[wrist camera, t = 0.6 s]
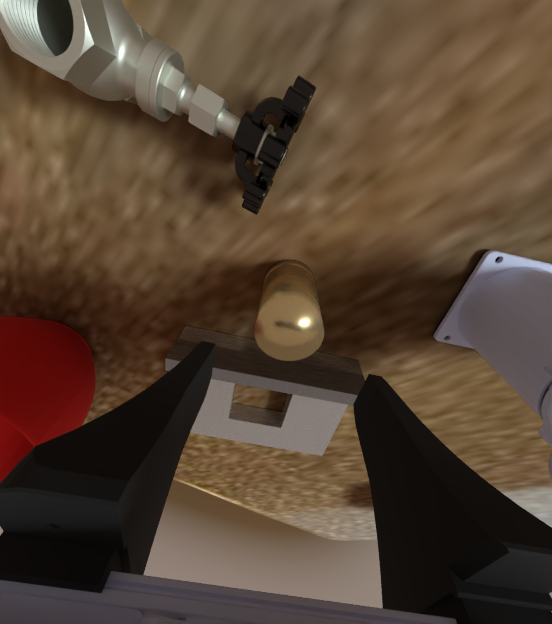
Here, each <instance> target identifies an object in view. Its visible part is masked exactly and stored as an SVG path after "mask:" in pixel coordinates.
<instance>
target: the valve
mask: <svg viewBox="0 0 552 624" xmlns="http://www.w3.org/2000/svg"><path fill="white" fill-rule="evenodd" d="M0 29H1V31H2V33H3V35H4V37H5V39H6V41H7V43H8V45H9V47H10V49H11V50H12V51H13V52H15V53H16V54H18V55H20V56H21V57H23V58H25V59H27V60H28V61H30V62H32V63H33V64H35V65H37V66H39V67H41V68H42V69H44V70H46V71H48V72H50V73H51V74H53V75H55V76H57V77H59V78H61V79H63V80H65V81H68V82H70V83H71V84H72V85H73V86H75V87H76V88H78V89H79V90H81V91H82V92H84V93H86V94H88V95H90V96H92V97H95V98H97V99H101V100H106V101H119V100H125V101H127V102H130V103H133V104H136V105H139V107H140V108H141V110H142V111H144V112H146V113H147V114H149V115H151V116H153V117H154V118H156V119H158V120H159V121H161V122H165V121H168V120H169V119H170V118H171V117H172V115H173V114H176V115H179V116H181V115H182V114H183V113H186V114H188V115H189V120H188V122H189V123H191V124H193V125H194V126H196V127H198V128H199V129H201V130H203V131H205V132H206V133H208V134H210V135H211V136H214V137H217V136H218V135H219V133H220V132H221V133H223V134H224V135H226V136H228V137H229V138H231V139H233V144H232V151H233V152H235V153H236V154H237V156H236V160H235V170H236V174H237V176H238V178H239V179H240V180H241V182H242V183H244V184H245V185H246V188H245V191H244V193H243V197H242V198H243V199H244V201H243V204H242V207H243V208H245V209H247V210H248V211H250V212H252V213H254V214H256V215H257V214H258V212H259V210H260V208H261V206H262V204H263V201H264V199H265V197H266V196H267V194H268V192H269V190H270V188H271V185H272V183H273V180H272V179H273V177H274V175H275V173H276V171H277V169H278V167H279V166H281V164H282V162H283V160H284V158H285V156H286V154H287V152H288V148H287V147H288V145H289V143H290V141H291V138H292V136H293V134H294V133H296V132H297V130H298V128H299V126H300V124H301V121H302V119H303V117H304V115H305V111H306V109H307V107H308V105H309V103H310V101H311V99H312V97H313V94H314V92H315V90H316V87H315V86H314V85H312V84H311V83H310V82H308V81H307V80H305V79H304V78H302V77H301V76H298V77H297V79H296V81H295V83H294V85H293V87H292V86H290V87H289V88H288V90H287V92H286V94H285V96H284V99H283V100H281V99H279V98H275V97H269V98H266V99H264V100H262V101H261V102H260V103H259V104H258V105H257V107H256V108H255V110H254V112H253V113H251V112H250V111H246V112H245V114H244V115H243V117H242V119H240V118H238V117H237V116H235V115H233V114H232V113H230V112H228V102H227V101H226V100H224V99H223V98H221V97H220V96H218V95H216V94H215V93H213V92H212V91H210V90H208V89H207V88H205V87H204V86H202V85H200V84H199V86H198V88H197V89H195V88H193V87H192V86H191V79H190V78H189V77H187V76H186V75H184V62H183V59H182V56H181V55H180V53H179V52H178V51H176V50H175V49H173V48H171V47H170V46H168V45H167V44H165V43H164V42H162V41H161V40H159V39H154V38H153V37H152V36H151V35H150V34H148V33H147V32H146V31H145V30H144V29H143V28H142V27H140V26H139V25H137V24H136V22H135V20H134V19H133V17H132V15H131V13H130V12H129V10H128V9H127V8H126V6H125V5H124V4H123V2H122V1H121V0H0ZM269 113H271V114H274V115H275V116H277V117H279V118H280V119H282V122H281V124H280V126H279V128H278V131H277V133H275V132H274V131H273V128H274V126H272V125H271V124H269V123H267V122H266V121H264V118H265V115H266V114H269ZM247 160H248V161H250V162H252V163H253V164H255V165H258V164H259V163H260V164H262V167H261V170H260V172H259V175H258V177H257V176H255V175H254V174H252V173H250V172H249V171H248V170H247V169H246V166H245V164H246V162H247Z"/></svg>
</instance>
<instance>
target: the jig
mask: <svg viewBox="0 0 552 624" xmlns="http://www.w3.org/2000/svg"><path fill="white" fill-rule="evenodd" d="M201 341H205V342H210V343H215V344H216V346H215V354H214V362H213V370H212V377H211V381H210V384H209V387H208V390H207V394H206V397H205V399H204V402H203V404H202V406H201V408H200V411H199V413H198V415H197V418H196V420H195V422H194V425H193V427H192V429H191V431H190V433H195V434H200V435H206V436H212V437H217V438H223V439H229V440H235V441H240V442H246V443H252V444H258V445H263V446H269V447H275V448H280V449H286V450H292V451H298V452H303V453H309V454H315V455H321V456H322V455H323V453H324V451H325V449H326V447H327V445H328V444H329V442H330V440H331V438H332V436H333V434H334V432H335V430H336V428H337V426H338V424H339V422H340V420H341V418H342V416H343V414H344V412H345V410H346V408H347V406H348V405H351V406H354V405H353V404H354V402H355V400H356V398H357V396H358V394H359V392H360V390H361V388H362V386H363V385H364V383H365V379H364V376H363V373H362V370H361V367H360V364H359V361H358V360H354V359H349V358H344V357H339V356H334V355H330V354H325V353H320V352H314V353H313V354H311V355H310V356H308V357H306V358H304V359H300V360H296V361H284V360H279V359H276V358H273V357H271V356H269V355H268V354H266V353H265V352H264V351H263V350H262V349H261V348H260V347H259V346H258V344H257V342H256V340H255V339H250V338H245V337H240V336H235V335H230V334H225V333H220V332H215V331H210V330H205V329H200V328H195V327H190V326H185V328H184V329H183V331H182V332H181V334H180V336H179V337H178V339H177V341H176V342H175V344H174V345H173V347H172V349H171V350H170V352H169V353H168V355H167V357H166V358H165V370H166V371H170V370H171V369H173V368H174V367H175V366H176V365H177V364H178V363H179V362H180V361H182V360H183V359H184V358H185V357H186V356H187V355H188V354H189V353H190V352H191V351H192V350H193V349H194V348H195V347H196V346H197V345H198V344H199V343H200V342H201ZM236 384H240V385H246V386H251V387H256V388H261V389H267V390H272V391H277V392H283V393H288V395H287V398H286V401H285V404H284V407H283V410H282V412H280V411H274V410H269V409H264V408H258V407H253V406H247V405H242V404H236V403H232V401H233V395H234V390H235V385H236Z"/></svg>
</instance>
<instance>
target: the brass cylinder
mask: <svg viewBox="0 0 552 624" xmlns="http://www.w3.org/2000/svg"><path fill="white" fill-rule="evenodd" d="M254 335H255V339H256V342H257V344H258V346H259V347H260V348H261V349H262V350H263V351H264V352H265V353H266V354H268V355H269V356H271V357H273V358H276V359H279V360H284V361H296V360H300V359H304V358H306V357H308V356H310V355H311V354H313V353H314V352H315V351H316V350H317V349H318V348H319V347H320V345H321V343H322V341H323V338H324V326H323V321H322V316H321V311H320V306H319V301H318V296H317V291H316V284H315V279H314V276H313V273H312V271H311V270H310V269H309V268H308V266H306V265H305V264H303V263H302V262H299V261H296V260H283V261H280V262H277V263H276V264H274V265H273V266H272V267H270V269H269V270H268V271H267V273H266V275H265V279H264V283H263V290H262V294H261V299H260V304H259V309H258V314H257V318H256V323H255V329H254Z"/></svg>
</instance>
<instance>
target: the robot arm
mask: <svg viewBox="0 0 552 624" xmlns="http://www.w3.org/2000/svg"><path fill="white" fill-rule="evenodd" d="M497 257H499V259H498V260H497V261H495V260H496V258H497ZM446 336H448V337H446ZM445 337H446V338H445ZM434 338H435V339H436V340H437V341H439V342H444V343H448V344H453V345H458V346H463V347H468V348H472V349H475V350H476V351H477V352H478V353H479V354H480V355H481V356H482V357H483V358H484V359H485V360H486V361H487V362H488V363H489V364H490V365H491V366H492V368H493V369H494V370H495V371H496V372H497V373H498V374H499V375H500V376H501V377H502V378H503V379H504V380H505V381H506V382H507V383H508V384H509V385H510V386H511V387H512V388H513V389H514V390H515V391H516V392H517V393H518V395H519V396H520V397H521V398H522V399H523V400H524V401H525V402H526V403H527V404H528V405H529V406H530V407H531V408H532V409H533V410H534V411H535V412H536V413H537V414H538V415H539V416H540V417H541V418H542V419H543V421H544V422H543V426H542V428H541V429H540V430H539V434H540V435H541V436H542V437H543V438H544V439H545V440H546V442H547V443H548V444H549V445H550V446H551V447H552V264H550V263H546V262H541V261H537V260H533V259H529V258H524V257H520V256H516V255H512V254H508V253H503V252H499V251H495V250H490V251H487V252H486V253H485V254H484V255H483V256H482V258H481V260H480V261H479V263H478V264H477V266H476V268H475V269H474V271H473V272H472V274H471V276H470V277H469V279H468V280H467V282H466V284H465V285H464V287H463V288H462V290H461V292H460V293H459V295H458V296H457V298H456V300H455V301H454V303H453V304H452V306H451V308H450V309H449V311H448V312H447V314H446V316H445V317H444V319H443V320H442V322H441V324H440V325H439V327H438V328H437V330H436V332H435V333H434ZM215 346H216V344H215V343H210V342H205V341H201V342H200V343H199V344H198V345H197V346H196V347H195V348H194V349H193V350H192V351H191V352H190V353H189V354H188V355H187V356H186V357H185V358H184V359H183V360H182V361H180V362H179V363H178V364H177V365H176V366H175V367H174V368H173V369H171V370H170V371H169V372H168V373H167V374H165V375H164V376H163V377H161V378H160V379H159V380H158V381H156V382H155V383H154V384H152V385H151V386H150V387H148V388H147V389H145V390H144V391H142V392H141V393H139V394H138V395H136V396H135V397H133V398H132V399H130V400H128V401H127V402H125V403H124V404H122V405H120V406H119V407H117V408H115V409H113V410H112V411H110V412H108V413H106V414H104V415H102V416H100V417H98V418H96V419H94V420H93V421H91V422H89V423H87V424H85V425H83V426H81V427H79V428H76V429H74V430H72V431H70V432H68V433H65V434H63V435H61V436H58V437H56V438H53V439H51V440H49V441H46V442H44V443H42V444H39V445H37V446H35V447H34V448H33V449H32V450H31V451H30V452H29V453H28V454H27V455H26V456H24V457H23V458H22V459H21V460H20V461H19V463H18V464H17V465H16V466H15V467H14V468H13V469H12V470H11V471H10V472H9V474H8V475H7V476H6V477H5V478H4V479H3V480H2V481H1V483H0V526H1V528H2V529H3V531H4V532H3V533H2V534H1V536H0V624H552V612H551V611H552V598H551V597H550V595H549V593H550V592H552V528H551V527H550V526H548V525H547V524H545V523H544V522H542V521H541V520H539V519H538V518H536V517H535V516H533V515H532V514H530V513H529V512H527V511H526V510H524V509H523V508H521V507H520V506H519V505H517V504H516V503H515V502H513V501H512V500H510V499H509V498H508V497H506V496H505V495H504V494H502V493H501V492H500V491H498V490H497V489H496V488H494V487H493V486H492V485H490V484H489V483H488V482H487V481H485V480H484V479H483V478H482V477H480V476H479V475H478V474H477V473H476V472H474V471H473V470H472V469H471V468H470V467H468V466H467V465H466V464H465V463H464V462H463V461H461V460H460V459H459V458H458V457H457V456H456V455H455V454H454V453H452V452H451V451H450V450H449V449H448V448H447V447H446V446H445V445H444V444H443V443H442V442H441V441H440V440H439V439H438V438H437V437H436V436H435V435H434V434H433V433H432V432H431V431H430V430H429V429H428V428H427V427H426V426H425V425H424V424H423V423H422V422H421V421H420V420H419V419H418V417H417V416H416V415H415V414H414V413H413V412H412V411H411V410H410V408H409V407H408V406H407V405H406V404H405V403H404V402H403V400H402V399H401V398H400V397H399V396H398V395H397V393H396V392H395V391H394V390H393V389H392V388H391V386H390V385H389V384H388V383H387V382H386V381H385V380H384V379H383V378H382V377H381V376H376V375H371V374H369V375H368V377H367V379H366V381H365V383H364V385H363V386H362V388H361V390H360V392H359V394H358V396H357V398H356V400H355V402H354V404H353V405H354V415H355V423H356V428H357V433H358V437H359V441H360V445H361V449H362V453H363V457H364V461H365V465H366V469H367V473H368V477H369V482H370V487H371V494H372V500H373V507H374V514H375V522H376V530H377V539H378V549H379V560H380V572H381V584H382V585H381V586H382V600H383V601H382V602H383V609H382V608H374V607H367V606H360V605H353V604H346V603H339V602H331V601H324V600H316V599H310V598H302V597H295V596H288V595H281V594H274V593H266V592H260V591H252V590H245V589H238V588H230V587H224V586H216V585H209V584H202V583H195V582H187V581H181V580H173V579H166V578H158V577H151V576H145V575H143V574H144V570H145V567H146V564H147V560H148V557H149V554H150V550H151V547H152V544H153V541H154V537H155V534H156V531H157V527H158V524H159V521H160V518H161V515H162V512H163V508H164V505H165V502H166V499H167V496H168V493H169V490H170V486H171V483H172V480H173V477H174V474H175V471H176V468H177V465H178V462H179V459H180V456H181V453H182V451H183V448H184V445H185V443H186V441H187V438H188V436H189V434H190V431H191V429H192V427H193V425H194V422H195V420H196V418H197V415H198V413H199V411H200V408H201V406H202V404H203V402H204V399H205V397H206V394H207V390H208V387H209V384H210V381H211V377H212V370H213V362H214V354H215ZM548 468H549V472H550V476H551V478H552V454H551V456H550V458H549V461H548Z"/></svg>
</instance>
